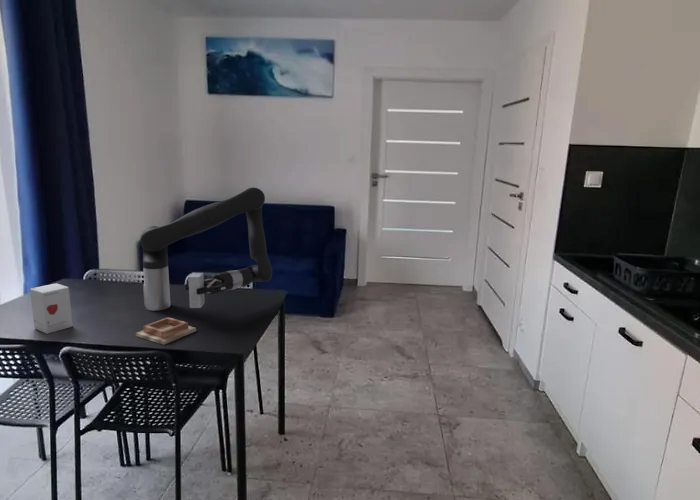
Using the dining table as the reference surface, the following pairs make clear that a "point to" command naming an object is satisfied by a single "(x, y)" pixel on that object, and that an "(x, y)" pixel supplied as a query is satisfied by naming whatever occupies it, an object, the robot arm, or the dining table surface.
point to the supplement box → (51, 308)
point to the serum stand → (165, 330)
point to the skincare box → (194, 283)
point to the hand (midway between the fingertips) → (191, 289)
